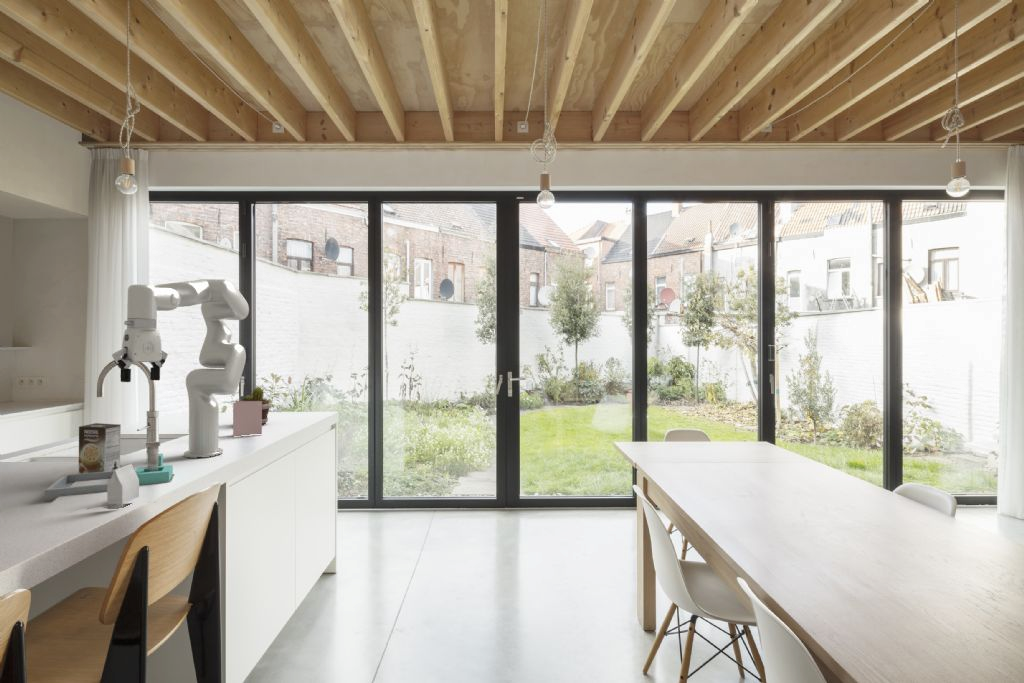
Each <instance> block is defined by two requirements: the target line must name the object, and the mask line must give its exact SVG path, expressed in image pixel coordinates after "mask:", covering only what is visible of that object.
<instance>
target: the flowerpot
mask: <svg viewBox="0 0 1024 683" xmlns="http://www.w3.org/2000/svg"><path fill="white" fill-rule="evenodd" d="M251 390H252V391H251V393H249V394H248V393H247V395H245V396H244V397H243V399H242V400H240V401H262V426H265V425H267V422H268V421H269V418H268V414H269V411H270V409H271V408H272V403H271V402H270V400H267V399H264V397H265V396H264V395H265V391H264V389H263V388H262V386H261V385H260V384H258V385H256V387H255V388H254V387H253V388H252V389H251ZM264 424H265V425H264Z"/></svg>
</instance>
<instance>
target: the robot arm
mask: <svg viewBox="0 0 1024 683" xmlns="http://www.w3.org/2000/svg"><path fill="white" fill-rule="evenodd" d="M200 304H201V305H200ZM195 305H200V311H201V315H202V316H203V319H204V322H205V326H206V334H205V338H204V340H203V343H202V346H201V350H200V353H199V355H198V356H199V357H198V361H199V364H200V365H201V366H202V367H204V368H196V369H193V370H191V371H190V372H189V373H188V374H186V375H187V376H186V377H185V387H186V391H187V396H188V450H186V451H185V452H183V456H184V457H185V458H189V457H190V458H189V459H191V458H192V459H195V458H196V459H197V457H202V458H209V457H210V456H211V457H215V455H216V456H219V455H218V454H220V455H222V454H223V453H224V449H223V448H219V418H220V417H219V413H220V412H219V409H220V408H219V403H218V401H217V399H216V398H215V397H214V396H229V395H232V394H234V393H236V391H237V390H238V387H239V385H240V382H241V378H242V375H243V372H244V368H245V365H246V360H247V354H246V349H245V348H244V345H241V344H239V343H232V342H231V339H232V332H231V329H230V328H229V326H227V323H226V322H225V321H242V320H245V319H246V318H247V317H248V316H249V312H250V306H249V304H248V302H247V300H246V299H245V297H244V296H243V295H242V293H241V291H240V290H239V289H238V288H237V287H236V286H235V284H233V283H232V282H231V281H230V280H229V279H228V280H227V279H215V278H214V279H208V278H206V279H195V280H189V281H188V280H187V281H179V282H178V281H177V282H172V283H171V282H170V283H160V284H149V285H148V284H131V285H129V286H128V288H127V306H126V308H127V309H126V310H127V311H126V320H125V321H124V322H123V324H124V326H126V329H125V330H124V333H123V337H122V341H121V342H122V344H121V349H120V350H117V351H115V352H114V353H112V355H111V356H112V358H113V360H114V363H115V364H116V365H117V367H118V369H120V382H121V383H130V382H132V368H130V367H131V366H132V364H133V363H149V365H151V366H152V367H150V374H149V376H150V378H149V379H150V381H160V379H161V368H162V367H163V365H164V363H165V362H166V360H167V357H168V353H167V352H166V351H164V350H162V340H161V335H160V331H159V330H158V329H157V320H158V319H157V317H158V316H157V312H158V311H159V312H160V311H161V312H163V311H164V312H166V311H167V312H168V311H173V310H176V309H177V308H180V307H181V308H183V307H193V306H195ZM222 452H223V453H222ZM221 453H222V454H221Z"/></svg>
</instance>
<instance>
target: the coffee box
mask: <svg viewBox="0 0 1024 683" xmlns="http://www.w3.org/2000/svg"><path fill="white" fill-rule="evenodd" d="M121 429H122V428H121V424H117V423H114V424H113V423H100V422H95V423H90V424H86V425H81V426H78V474H82V473H94V472H106V471H114V470H116V469H118V468H121V431H122V430H121Z"/></svg>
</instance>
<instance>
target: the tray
mask: <svg viewBox="0 0 1024 683" xmlns="http://www.w3.org/2000/svg"><path fill="white" fill-rule="evenodd" d="M113 472H114V471H106V472H94V473H82V474H79V473H72V474H64V475H62V476H61V477H59V478H58V479H57V480H56V481H55V482H54V483H52V484H51V485H50V486H48V488H46V489H45V493H44V494H45V495H44V498H45V502H50V501H49V500H54V501H56V500H57V499H58V498H59V497H61V496H71V495H72V496H73V495H82V494H92V493H93V494H94V493H101V492H103V493H104V492H107V486H108V484H109V482H110V480H111V478H112V475H113ZM102 479H109V480H108V481H107V482H106V483H102V484H101V483H99V484H90V485H89V484H88V485H77V486H73V484H74V483H76V482H77V481H88V480H89V481H91V480H102Z"/></svg>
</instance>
